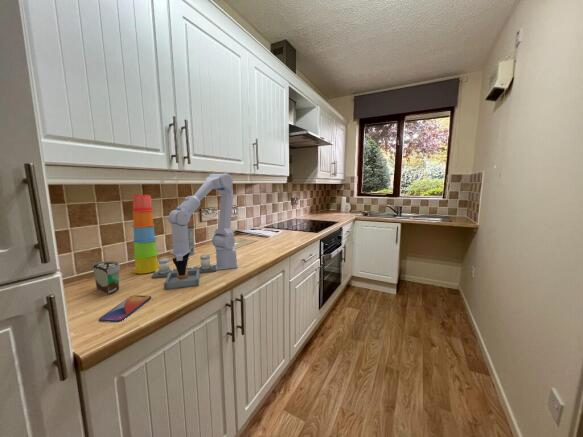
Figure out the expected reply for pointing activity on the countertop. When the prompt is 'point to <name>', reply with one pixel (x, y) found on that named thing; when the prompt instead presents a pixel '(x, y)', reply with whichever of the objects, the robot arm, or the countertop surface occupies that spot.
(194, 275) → the tray
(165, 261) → the ball
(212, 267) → the board
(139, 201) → the stacking cups
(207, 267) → the cylinder
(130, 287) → the countertop surface
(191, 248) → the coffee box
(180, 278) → the marked fuse
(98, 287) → the food container
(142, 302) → the smartphone
